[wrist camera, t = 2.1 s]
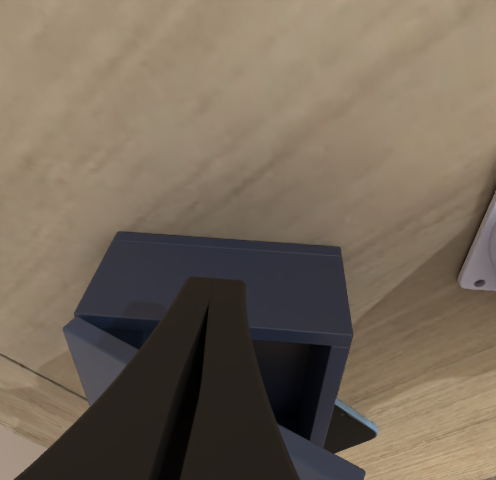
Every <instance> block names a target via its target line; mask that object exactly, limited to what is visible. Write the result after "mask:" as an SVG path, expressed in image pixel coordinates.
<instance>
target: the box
mask: <svg viewBox="0 0 496 480" xmlns="http://www.w3.org/2000/svg"><path fill="white" fill-rule="evenodd" d="M190 276H192V277H205V278H218V279H232V280H242V281H243V282H244V283H245V284H246V308H247V316H248V322H249V328H250V333H251V338H252V343H253V347H254V351H255V355H256V359H257V363H258V367H259V370H260V374H261V377H262V380H263V384H264V387H265V390H266V393H267V396H268V399H269V402H270V405H271V408H272V411H273V414H274V417H275V419H276V422H277V424H279V425H281V426H283V427H285V428H286V429H288V430H290V431H292V432H294V433H296V434H298V435H300V436H301V437H303V438H305V439H307V440H309V441H311V442H313V443H315V444H316V445H318V446H320V447H322V448H323V446H324V443H325V439H326V435H327V431H328V428H329V424H330V420H331V416H332V413H333V409H334V405H335V401H336V398H337V394H338V390H339V386H340V383H341V379H342V375H343V371H344V368H345V364H346V360H347V357H348V353H349V349H350V345H351V341H352V338H353V331H352V324H351V317H350V310H349V303H348V296H347V289H346V282H345V275H344V268H343V261H342V255H341V249H340V247H333V246H319V245H304V244H290V243H275V242H261V241H246V240H232V239H218V238H203V237H189V236H174V235H160V234H146V233H131V232H117V234H116V235H115V237H114V239H113V241H112V242H111V244H110V246H109V248H108V250H107V252H106V254H105V256H104V258H103V259H102V261H101V263H100V265H99V267H98V269H97V271H96V273H95V275H94V276H93V278H92V280H91V282H90V284H89V286H88V288H87V290H86V292H85V293H84V295H83V297H82V299H81V301H80V303H79V305H78V307H77V309H76V310H75V312H74V315H75V317H79V318H81V319H83V320H84V321H86V322H88V323H90V324H92V325H94V326H96V327H98V328H99V329H101V330H103V331H105V332H107V333H109V334H111V335H112V336H114V337H116V338H118V339H120V340H122V341H124V342H126V343H127V344H129V345H131V346H133V347H135V348H137V349H140V348H141V347H142V345H143V344H144V343H145V341H146V340H147V339H148V337H149V336H150V334H151V333H152V332H153V330H154V329H155V328H156V326H157V325H158V323H159V322H160V321H161V319H162V318H163V316H164V315H165V313H166V312H167V310H168V309H169V307H170V306H171V304H172V303H173V301H174V299H175V298H176V296H177V295H178V293H179V291H180V290H181V288H182V286H183V284H184V282H185V281H186V279H188V278H189V277H190Z"/></svg>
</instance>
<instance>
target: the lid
mask: <svg viewBox="0 0 496 480" xmlns="http://www.w3.org/2000/svg"><path fill="white" fill-rule="evenodd" d="M63 332H64V335H65V337H66V340H67V343H68V346H69V349H70V352H71V354H72V357H73V360H74V363H75V366H76V369H77V371H78V374H79V377H80V380H81V383H82V386H83V388H84V391H85V394H86V397H87V400H88V402H89V405H90V407H91V405H92V404H93V403H94V402H95V401H96V400H97V399H98V398H99V397H100V396H101V395H102V394H103V392H104V391H105V390H106V389H107V388H108V387H109V386H110V385H111V383H112V382H113V381H114V380H115V379H116V378H117V376H118V375H119V374H120V373H121V371H122V370H123V369H124V368H125V367H126V365H127V364H128V363H129V362H130V360H131V359H132V358H133V357H134V356H135V354H136V353H137V352H138V351H139V349H137V348H135V347H133V346H131V345H129V344H127V343H126V342H124V341H122V340H120V339H118V338H116V337H114V336H112V335H111V334H109V333H107V332H105V331H103V330H101V329H99V328H98V327H96V326H94V325H92V324H90V323H88V322H86V321H84V320H83V319H81V318H79V317H75V318H74V319H73V320H71V321H70V322H69V323H68V324H67V325H66V326H64V327H63ZM277 425H278V427H279V430H280V432H281V435H282V438H283V440H284V443H285V445H286V448H287V450H288V452H289V455H290V457H291V460H292V462H293V464H294V467H295V469H296V471H297V474H298V476H299V478H300V480H364V477H365V471H364V470H363V469H361V468H359V467H358V466H356V465H354V464H352V463H350V462H348V461H346V460H345V459H343V458H341V457H339V456H337V455H335V454H333V453H331V452H330V451H328V450H326V449H324V448H322V447H320V446H318V445H316V444H315V443H313V442H311V441H309V440H307V439H305V438H303V437H301V436H300V435H298V434H296V433H294V432H292V431H290V430H288V429H286V428H285V427H283V426H281V425H279V424H277Z"/></svg>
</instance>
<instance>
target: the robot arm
mask: <svg viewBox="0 0 496 480" xmlns="http://www.w3.org/2000/svg"><path fill="white" fill-rule="evenodd" d="M457 280H458V283H459V285H460V287H462V288H464V289H473V290H487V291H496V191H495V194H494V196H493V198H492V200H491V203H490V205H489V207H488V209H487V212H486V214H485V216H484V219H483V221H482V223H481V225H480V228H479V230H478V232H477V235H476V237H475V239H474V241H473V244H472V246H471V248H470V251H469V253H468V255H467V257H466V260H465V262H464V264H463V267H462V269H461V271H460V273H459V276H458V279H457ZM477 280H480V281H478V282H476V281H477ZM14 480H300V478H299V476H298V474H297V471H296V469H295V467H294V464H293V462H292V460H291V457H290V455H289V452H288V450H287V448H286V445H285V443H284V440H283V438H282V435H281V432H280V430H279V427H278V425H277V422H276V419H275V417H274V414H273V411H272V408H271V405H270V402H269V399H268V396H267V393H266V390H265V387H264V384H263V380H262V377H261V374H260V370H259V367H258V363H257V359H256V355H255V351H254V347H253V343H252V338H251V333H250V328H249V322H248V316H247V308H246V284H245V283H244V282H243V281H242V280H232V279H218V278H205V277H192V276H190V277H189V278H188V279H186V281H185V282H184V284H183V286H182V288H181V290H180V291H179V293H178V295H177V296H176V298H175V299H174V301H173V303H172V304H171V306H170V307H169V309H168V310H167V312H166V313H165V315H164V316H163V318H162V319H161V321H160V322H159V323H158V325H157V326H156V328H155V329H154V330H153V332H152V333H151V334H150V336H149V337H148V339H147V340H146V341H145V343H144V344H143V345H142V347H141V348H140V349H139V351H138V352H137V353H136V354H135V356H134V357H133V358H132V359H131V360H130V362H129V363H128V364H127V365H126V367H125V368H124V369H123V370H122V371H121V373H120V374H119V375H118V376H117V378H116V379H115V380H114V381H113V382H112V383H111V385H110V386H109V387H108V388H107V389H106V390H105V391H104V392H103V394H102V395H101V396H100V397H99V398H98V399H97V400H96V401H95V402H94V403H93V404H92V405H91V407H90V408H89V409H88V410H87V411H86V412H85V413H84V414H83V415H82V416H81V417H80V418H79V419H78V420H77V421H76V422H75V423H74V424H73V425H72V426H71V427H70V428H69V429H68V430H67V431H66V432H65V433H64V434H63V435H62V436H61V437H60V438H59V439H58V440H57V441H56V442H55V443H54V444H53V445H52V446H51V447H50V448H49V449H47V450H46V451H45V452H44V453H43V454H42V455H41V456H40V457H39V458H38V459H37V460H36V461H34V462H33V463H32V464H31V465H30V466H29V467H28V468H27V469H25V470H24V472H22V473H21V474H20V475H19V476H17V477H16V478H15V479H14Z"/></svg>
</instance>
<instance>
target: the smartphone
mask: <svg viewBox="0 0 496 480" xmlns="http://www.w3.org/2000/svg"><path fill="white" fill-rule="evenodd" d="M377 435H378V428H377V426H376V425H375V424H374V423H372V422H371V421H369V420H368V419H366V418H365V417H364V416H362V415H361V414H359V413H358V412H356V411H355V410H353V409H352V408H350V407H349V406H348V405H346V404H345V403H343V402H342V401H340V400H339V399H337V398H336V401H335V405H334V409H333V413H332V416H331V420H330V424H329V428H328V431H327V435H326V439H325V443H324V446H323V448H324V449H326V450H328V451H330V452H331V453H333V454H334V453H337V452H340V451H342V450H345V449H348V448H350V447H353V446H356V445H358V444H361V443H364V442H366V441H369V440H371V439H373V438H375V437H376V436H377Z"/></svg>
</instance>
